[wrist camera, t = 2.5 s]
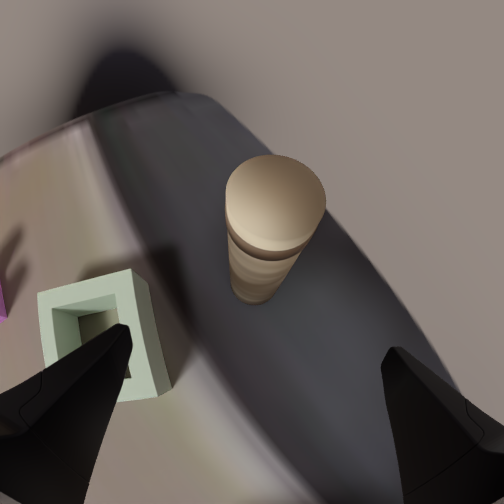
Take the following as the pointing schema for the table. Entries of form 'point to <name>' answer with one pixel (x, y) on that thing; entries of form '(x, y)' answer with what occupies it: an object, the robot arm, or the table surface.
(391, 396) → the robot arm
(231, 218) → the beige cylinder
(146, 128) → the table surface
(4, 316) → the bracket
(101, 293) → the square frame
